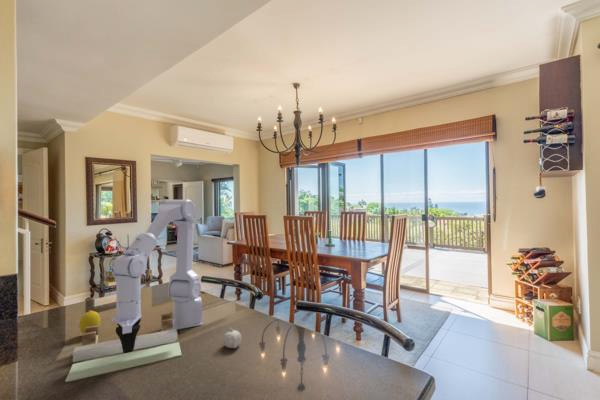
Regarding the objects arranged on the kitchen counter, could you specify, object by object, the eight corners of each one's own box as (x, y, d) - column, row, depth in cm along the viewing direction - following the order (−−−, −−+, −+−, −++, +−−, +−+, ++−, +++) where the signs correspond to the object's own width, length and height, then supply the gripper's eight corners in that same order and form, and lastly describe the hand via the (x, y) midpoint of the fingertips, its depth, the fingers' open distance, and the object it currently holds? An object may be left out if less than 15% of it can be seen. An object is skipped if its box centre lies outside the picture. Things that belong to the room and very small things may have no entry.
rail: (176, 337, 87) (176, 328, 87) (176, 341, 84) (176, 332, 84) (75, 357, 76) (75, 347, 76) (72, 362, 73) (72, 351, 73)
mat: (178, 343, 90) (178, 342, 90) (181, 355, 83) (181, 354, 83) (72, 365, 78) (72, 364, 78) (65, 382, 71) (65, 380, 71)
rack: (176, 331, 98) (176, 312, 98) (178, 339, 92) (178, 318, 92) (79, 349, 86) (79, 328, 86) (75, 359, 80) (75, 336, 80)
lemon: (89, 340, 92) (89, 314, 92) (74, 338, 93) (74, 313, 93) (104, 332, 97) (104, 307, 97) (90, 330, 98) (90, 306, 98)
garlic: (221, 343, 90) (221, 326, 90) (239, 340, 92) (239, 323, 92) (223, 352, 84) (223, 334, 84) (242, 349, 86) (242, 331, 86)
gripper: (114, 293, 85) (114, 341, 85) (108, 310, 72) (108, 366, 72) (142, 290, 88) (142, 335, 88) (140, 306, 75) (140, 359, 75)
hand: (128, 349), depth 80 cm, fingers closed on rail, 3 cm apart
